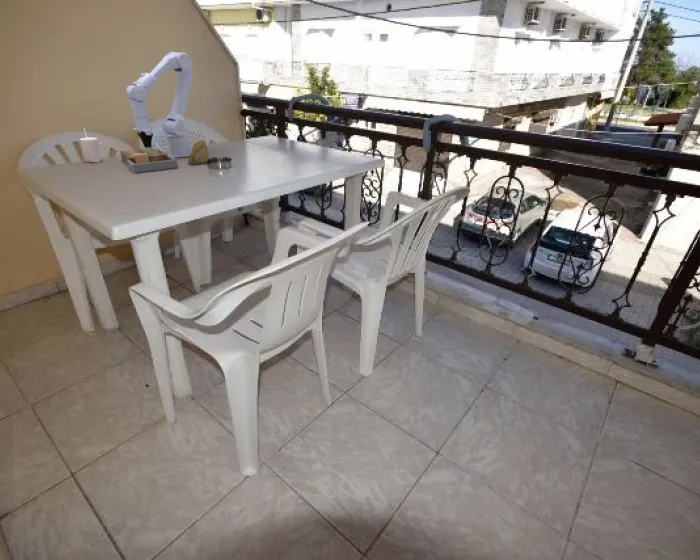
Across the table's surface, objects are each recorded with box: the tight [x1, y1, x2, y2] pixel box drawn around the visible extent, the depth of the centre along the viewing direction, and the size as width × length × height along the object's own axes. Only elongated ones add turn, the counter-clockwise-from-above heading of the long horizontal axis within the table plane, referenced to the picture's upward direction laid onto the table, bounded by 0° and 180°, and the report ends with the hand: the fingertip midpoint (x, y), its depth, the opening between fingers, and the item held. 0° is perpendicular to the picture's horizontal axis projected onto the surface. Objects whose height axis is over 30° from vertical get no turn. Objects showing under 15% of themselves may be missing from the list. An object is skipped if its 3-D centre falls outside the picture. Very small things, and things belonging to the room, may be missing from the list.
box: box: [126, 155, 179, 174], centre depth 159 cm, size 17×10×4 cm, turn 129°
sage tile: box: [142, 146, 159, 154], centre depth 166 cm, size 5×5×2 cm
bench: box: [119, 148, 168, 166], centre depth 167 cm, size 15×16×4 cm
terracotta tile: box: [133, 153, 149, 164], centre depth 159 cm, size 5×5×2 cm
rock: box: [187, 140, 210, 166], centre depth 169 cm, size 11×9×10 cm
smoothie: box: [79, 127, 101, 163], centre depth 162 cm, size 6×6×14 cm
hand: (148, 149), depth 169 cm, fingers closed
